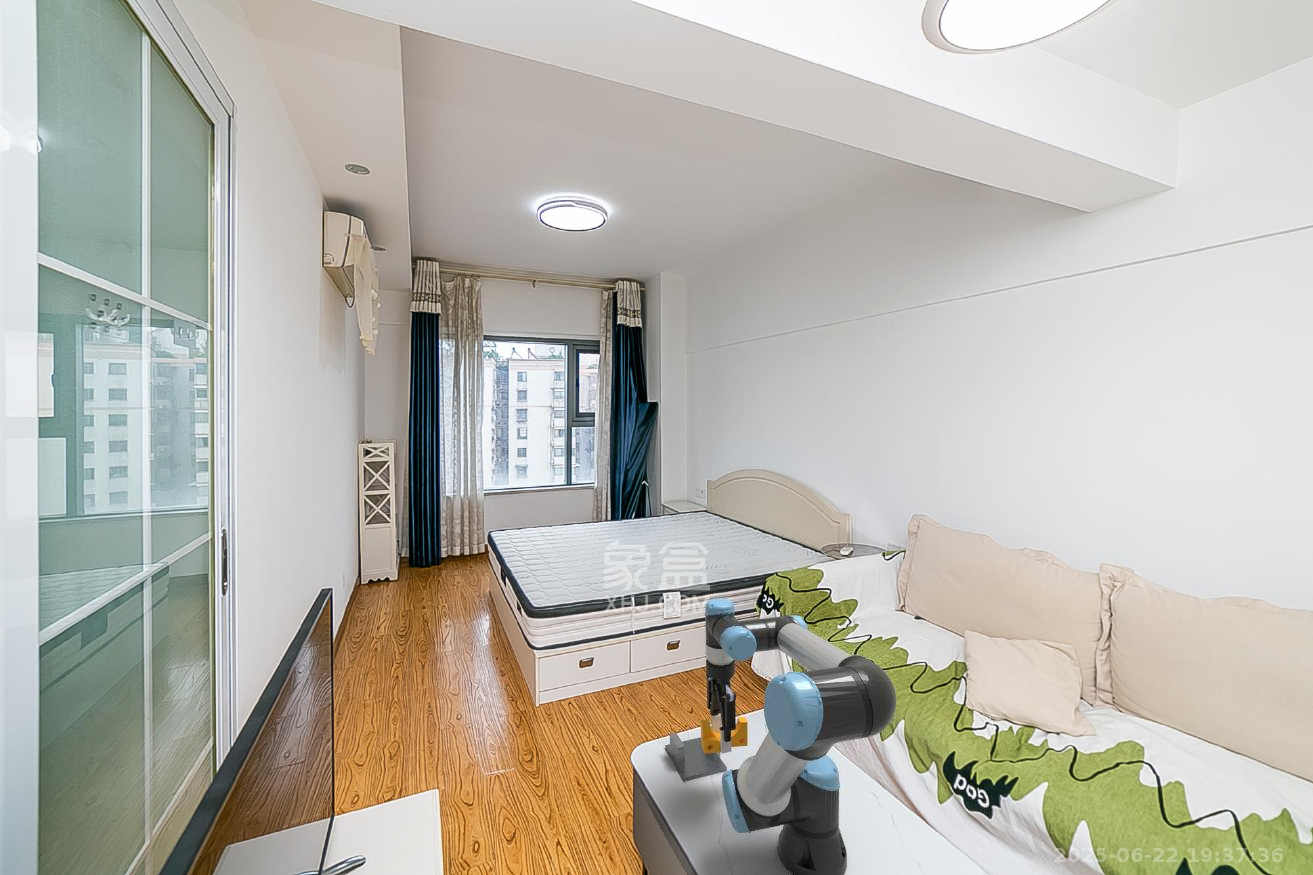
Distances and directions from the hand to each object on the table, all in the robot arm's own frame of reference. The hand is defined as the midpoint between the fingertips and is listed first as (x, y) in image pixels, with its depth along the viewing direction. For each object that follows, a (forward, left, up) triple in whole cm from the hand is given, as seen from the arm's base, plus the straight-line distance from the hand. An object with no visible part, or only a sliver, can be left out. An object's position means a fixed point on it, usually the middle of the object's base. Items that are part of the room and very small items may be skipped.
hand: (721, 745), depth 145 cm
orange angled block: (0, -1, -1) cm, 1 cm away
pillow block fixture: (+16, +1, -14) cm, 21 cm away
